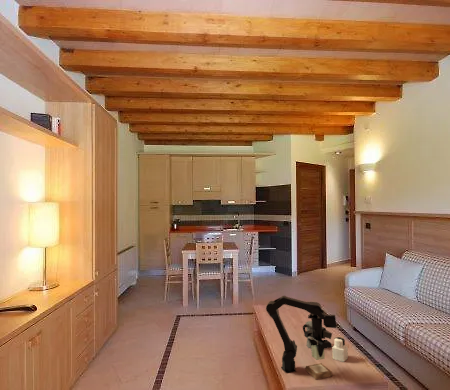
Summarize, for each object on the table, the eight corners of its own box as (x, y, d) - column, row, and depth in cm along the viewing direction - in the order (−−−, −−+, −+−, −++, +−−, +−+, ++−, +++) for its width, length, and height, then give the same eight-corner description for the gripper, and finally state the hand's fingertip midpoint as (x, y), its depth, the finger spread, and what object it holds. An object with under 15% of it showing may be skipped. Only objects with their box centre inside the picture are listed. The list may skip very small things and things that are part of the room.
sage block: (316, 360, 173) (316, 349, 173) (311, 356, 177) (311, 345, 178) (324, 358, 174) (324, 347, 174) (319, 354, 179) (319, 344, 179)
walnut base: (315, 379, 169) (315, 374, 169) (306, 370, 179) (305, 365, 179) (331, 376, 172) (331, 371, 172) (321, 367, 181) (321, 363, 182)
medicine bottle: (336, 354, 197) (335, 335, 198) (348, 357, 192) (347, 337, 193) (332, 359, 191) (331, 339, 192) (344, 362, 187) (343, 341, 187)
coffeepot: (315, 341, 217) (314, 315, 218) (326, 346, 209) (324, 319, 210) (298, 346, 210) (297, 319, 210) (308, 352, 201) (307, 323, 202)
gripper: (339, 330, 170) (340, 360, 169) (320, 319, 188) (321, 345, 187) (321, 333, 167) (322, 363, 166) (303, 321, 185) (304, 348, 184)
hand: (317, 354), depth 176 cm, fingers closed on sage block, 5 cm apart
